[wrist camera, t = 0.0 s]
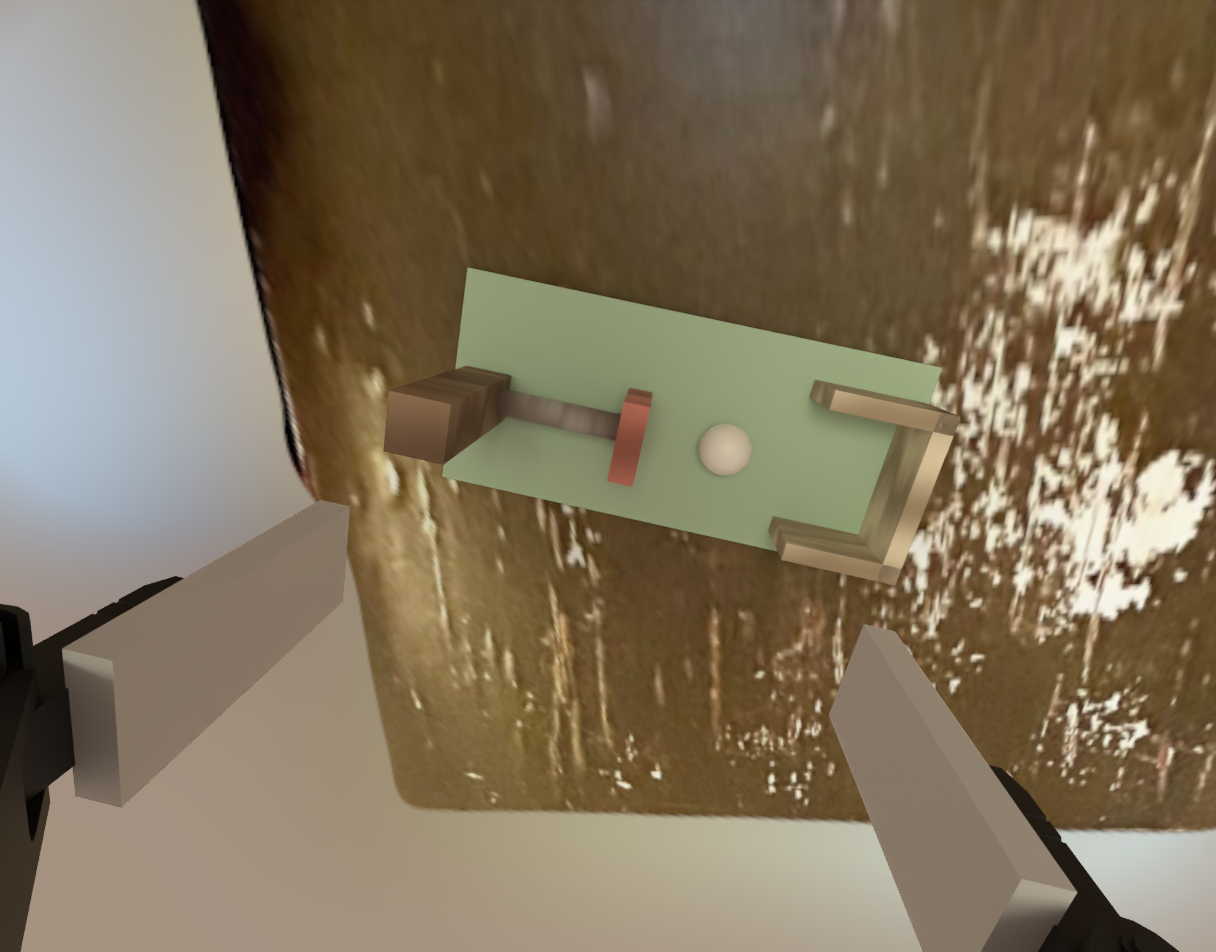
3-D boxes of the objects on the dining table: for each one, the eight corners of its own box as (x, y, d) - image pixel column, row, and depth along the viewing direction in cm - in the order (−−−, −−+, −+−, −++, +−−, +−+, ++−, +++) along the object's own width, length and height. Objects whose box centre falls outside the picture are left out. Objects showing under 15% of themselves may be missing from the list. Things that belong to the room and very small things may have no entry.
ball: (704, 414, 40) (708, 424, 37) (754, 424, 40) (762, 435, 37) (692, 461, 41) (694, 475, 38) (740, 472, 41) (747, 487, 38)
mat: (469, 267, 39) (467, 267, 39) (939, 367, 38) (942, 367, 38) (444, 475, 44) (442, 476, 44) (864, 569, 43) (866, 571, 43)
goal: (814, 379, 39) (835, 390, 34) (924, 402, 39) (960, 416, 34) (768, 530, 42) (781, 559, 38) (868, 553, 42) (895, 585, 37)
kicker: (468, 352, 40) (390, 372, 29) (652, 392, 40) (647, 428, 28) (459, 422, 42) (382, 467, 30) (637, 461, 41) (626, 522, 30)
